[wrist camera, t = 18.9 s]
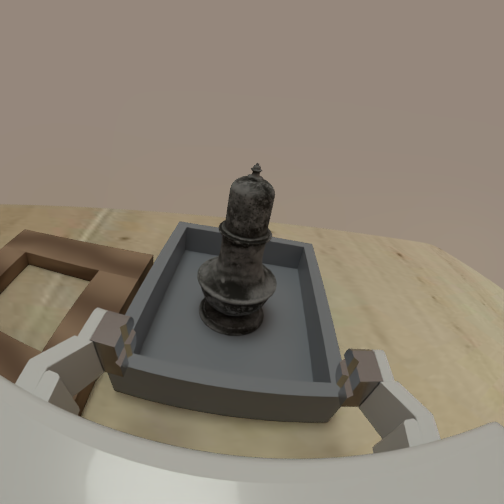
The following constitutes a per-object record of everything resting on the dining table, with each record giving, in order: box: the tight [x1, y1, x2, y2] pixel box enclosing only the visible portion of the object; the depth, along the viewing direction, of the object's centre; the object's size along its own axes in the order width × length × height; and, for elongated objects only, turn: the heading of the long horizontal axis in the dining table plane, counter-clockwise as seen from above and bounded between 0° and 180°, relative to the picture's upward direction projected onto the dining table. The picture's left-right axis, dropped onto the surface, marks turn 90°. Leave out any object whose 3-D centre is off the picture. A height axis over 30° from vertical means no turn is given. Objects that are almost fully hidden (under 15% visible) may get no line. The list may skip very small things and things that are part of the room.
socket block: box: [0, 230, 153, 416], centre depth 18 cm, size 18×18×2 cm
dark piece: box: [197, 163, 277, 336], centre depth 20 cm, size 6×6×12 cm
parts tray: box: [108, 222, 342, 422], centre depth 22 cm, size 18×14×4 cm
